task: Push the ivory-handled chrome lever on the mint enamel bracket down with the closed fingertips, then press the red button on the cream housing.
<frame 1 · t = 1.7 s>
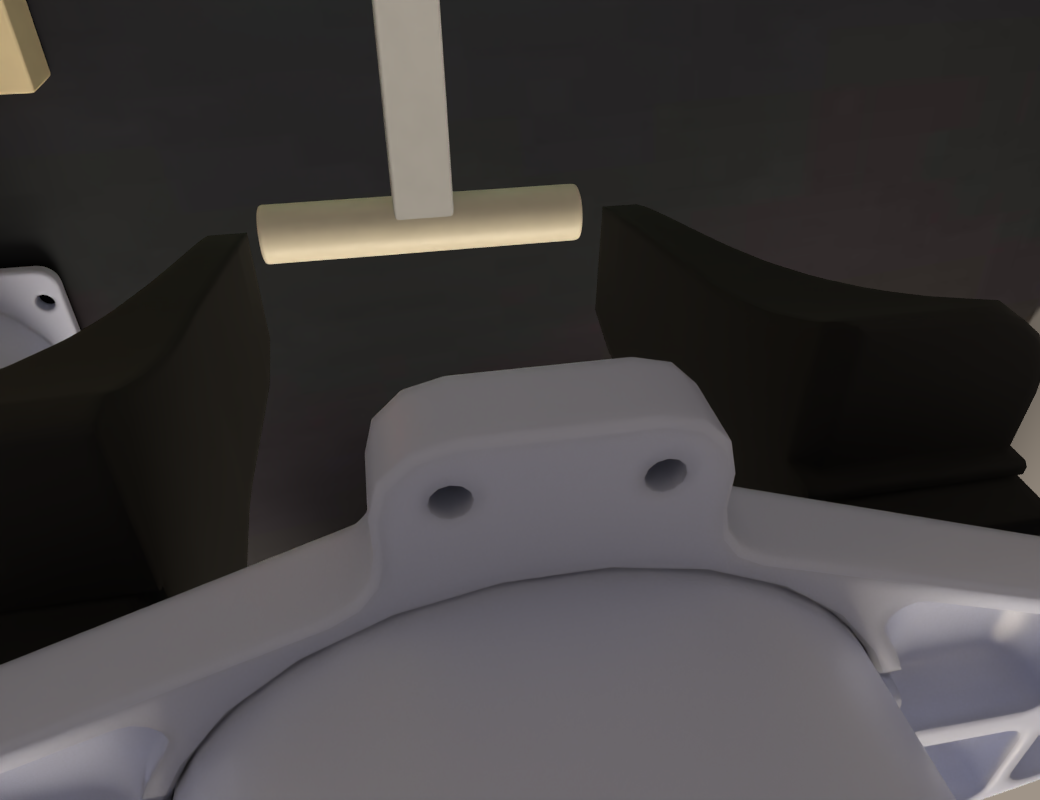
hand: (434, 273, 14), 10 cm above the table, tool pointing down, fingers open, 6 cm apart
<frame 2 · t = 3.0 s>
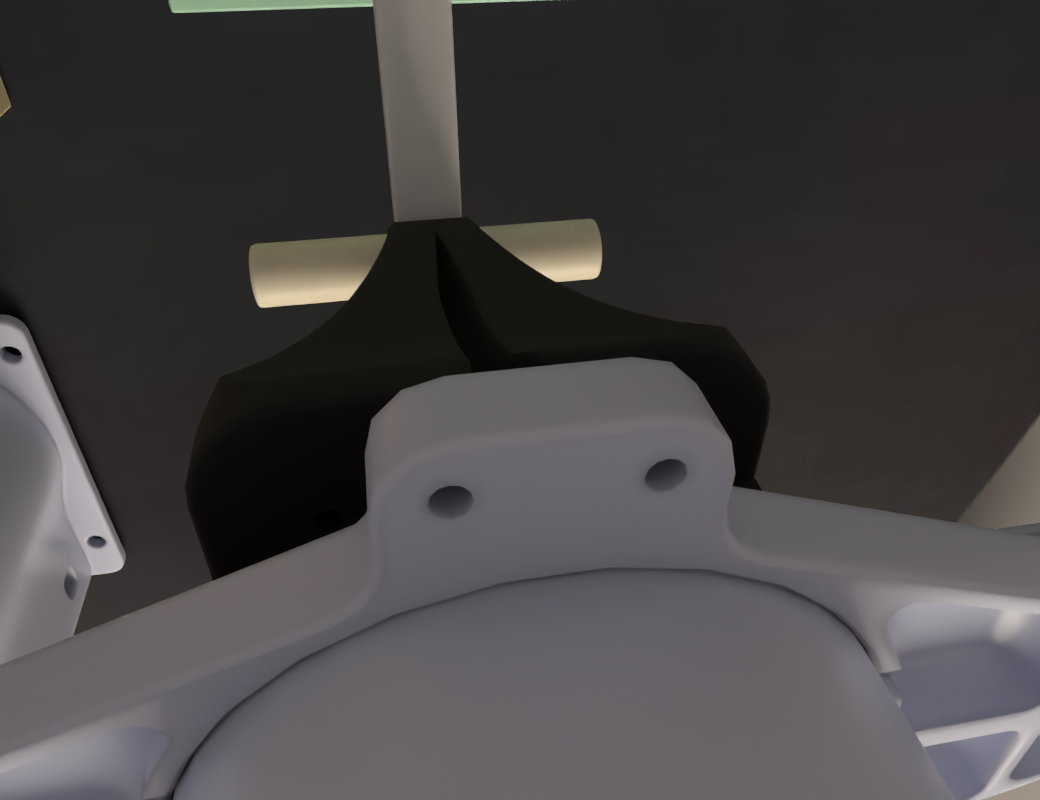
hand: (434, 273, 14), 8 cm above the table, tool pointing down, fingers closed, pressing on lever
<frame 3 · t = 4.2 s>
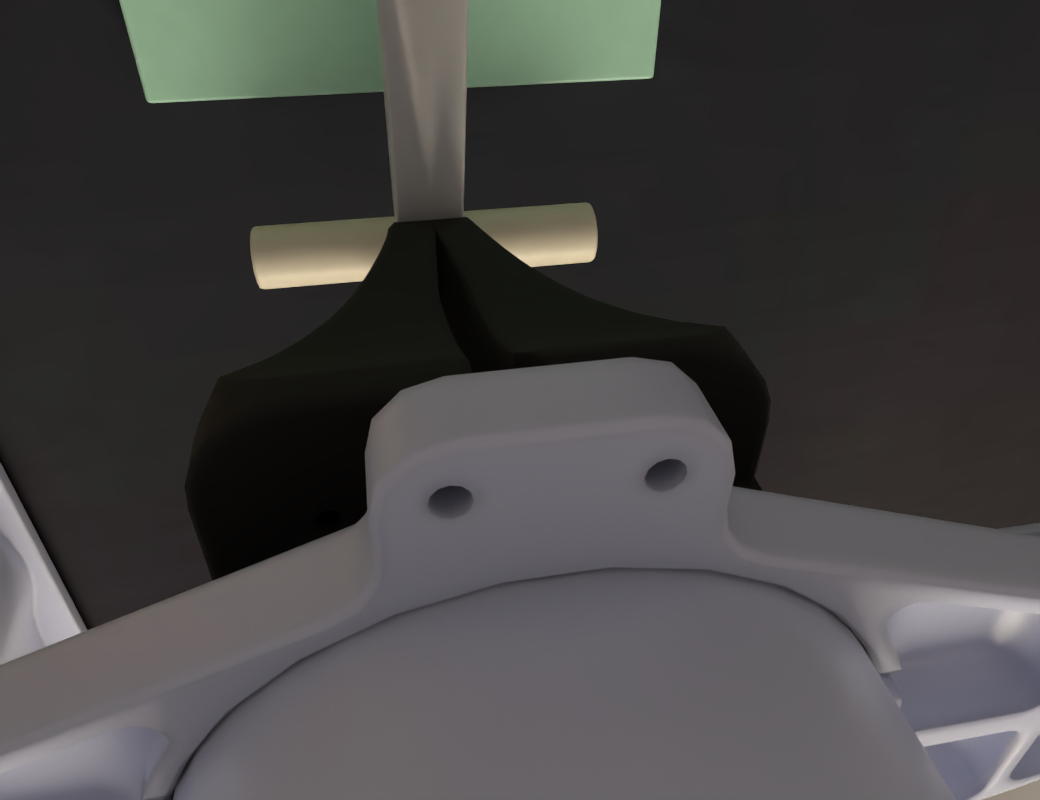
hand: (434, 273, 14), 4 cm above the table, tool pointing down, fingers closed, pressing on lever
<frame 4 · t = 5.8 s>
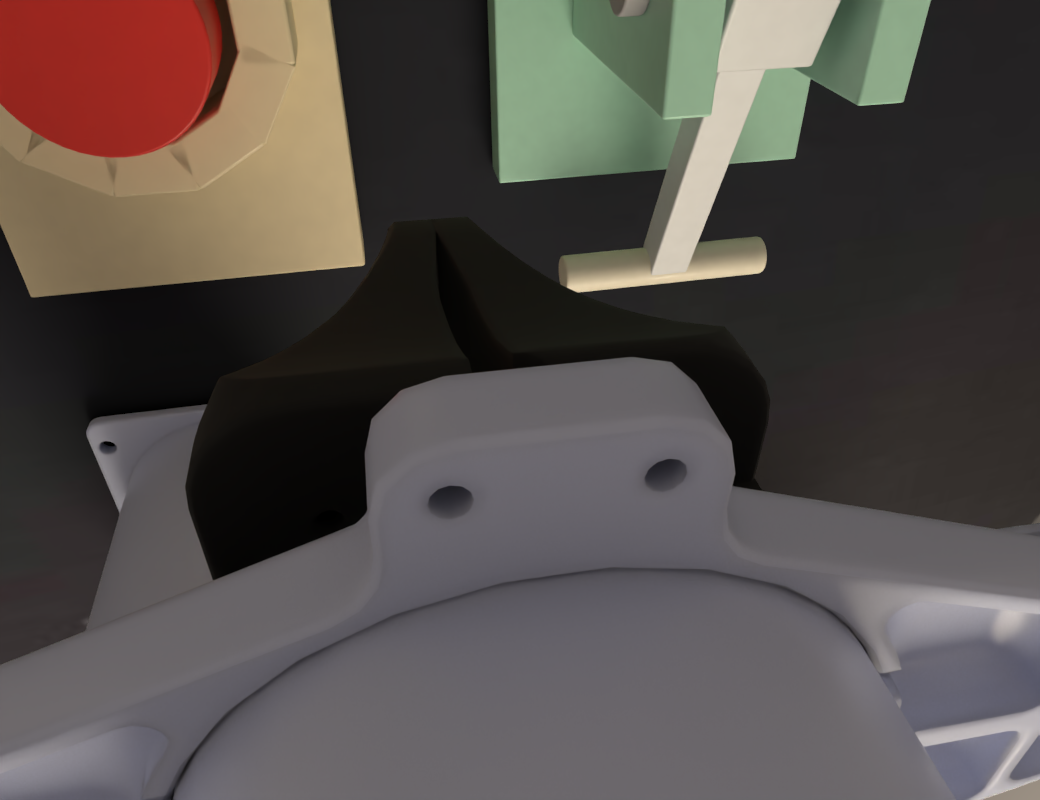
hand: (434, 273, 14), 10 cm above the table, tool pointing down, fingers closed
lever: (708, 132, 19), point 5 cm above the table, hinge at -24.2°
button housing: (150, 39, 20), on the table
red button: (101, 33, 16), point 4 cm above the table, slide at 0.1 cm
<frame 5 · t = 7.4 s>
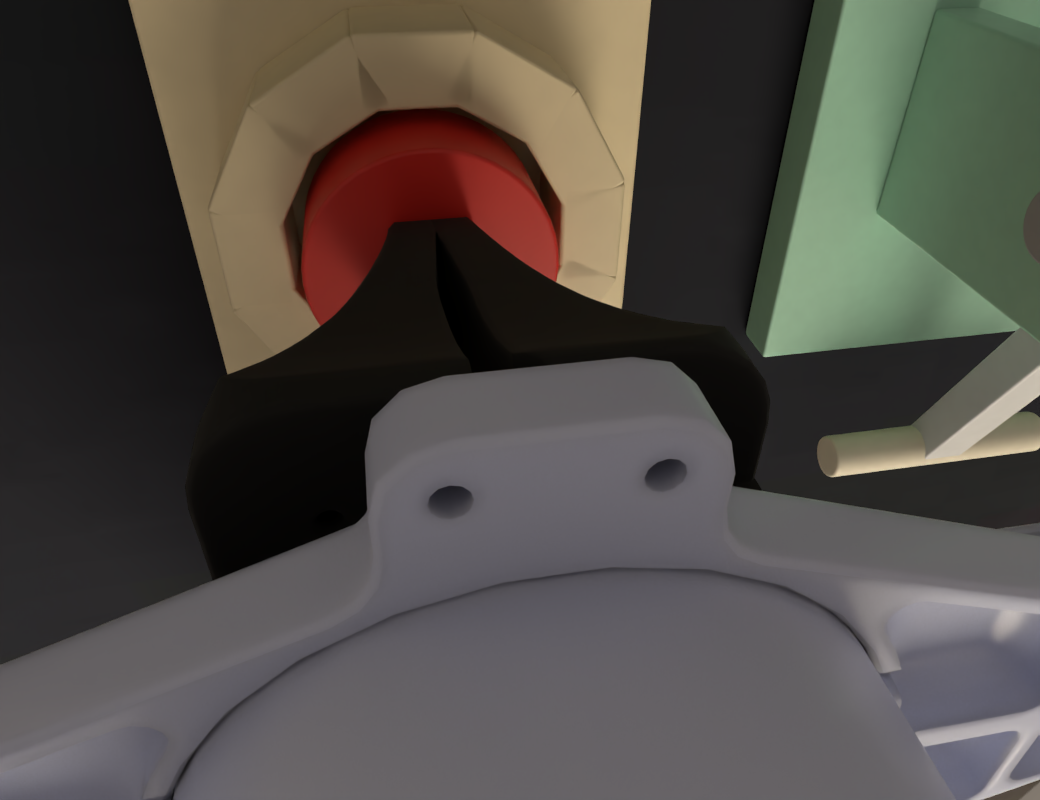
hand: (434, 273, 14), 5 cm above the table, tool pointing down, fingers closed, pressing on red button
button housing: (416, 217, 18), on the table
bracket: (972, 96, 19), on the table
red button: (428, 248, 15), point 4 cm above the table, slide at -0.5 cm, touching gripper
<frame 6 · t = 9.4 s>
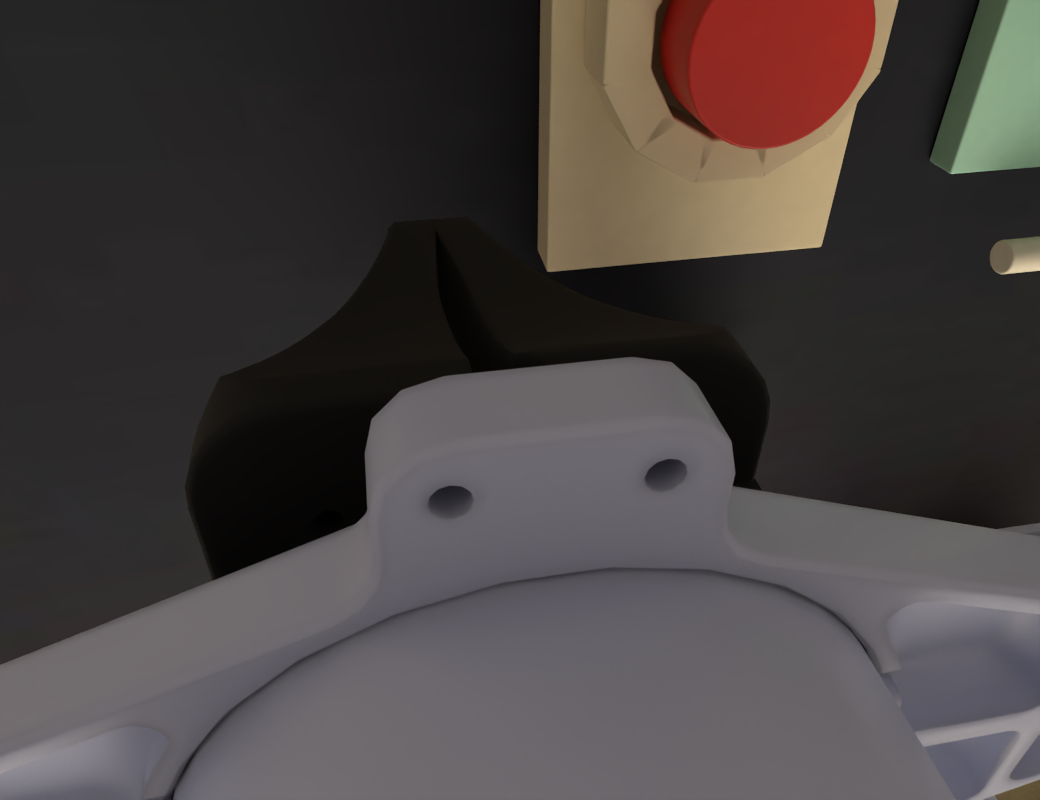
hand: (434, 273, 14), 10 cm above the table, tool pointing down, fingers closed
button housing: (696, 43, 23), on the table
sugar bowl: (873, 656, 45), on the table
red button: (763, 42, 19), point 4 cm above the table, slide at 0.1 cm
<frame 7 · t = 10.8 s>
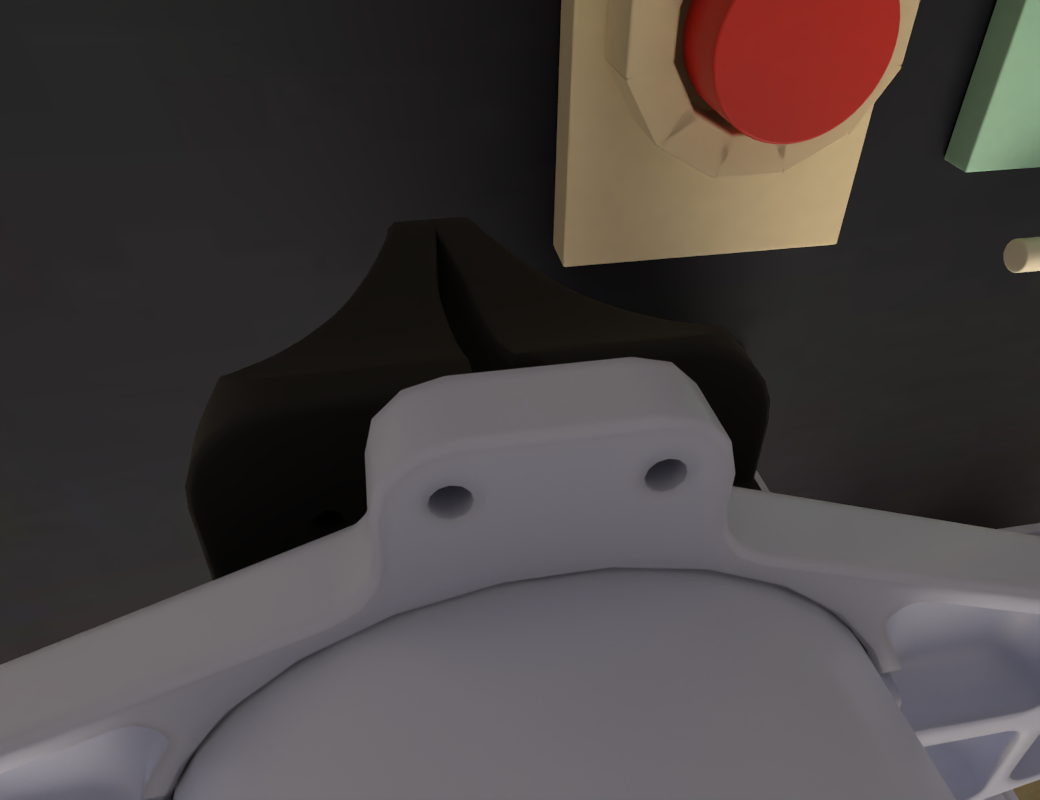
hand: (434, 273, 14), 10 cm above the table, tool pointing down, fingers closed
button housing: (715, 39, 23), on the table
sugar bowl: (877, 655, 45), on the table
red button: (787, 37, 19), point 4 cm above the table, slide at 0.1 cm
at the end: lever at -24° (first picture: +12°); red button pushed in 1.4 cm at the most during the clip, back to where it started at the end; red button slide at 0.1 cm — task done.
